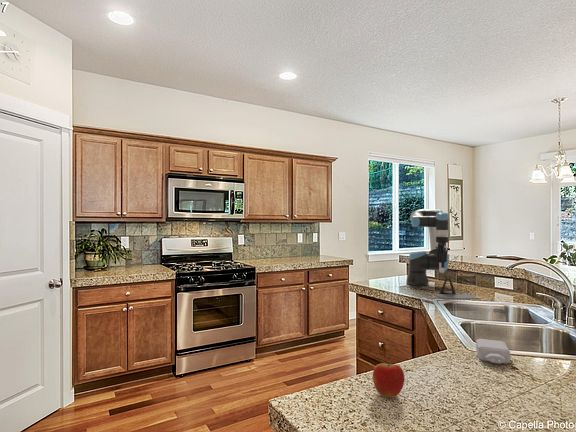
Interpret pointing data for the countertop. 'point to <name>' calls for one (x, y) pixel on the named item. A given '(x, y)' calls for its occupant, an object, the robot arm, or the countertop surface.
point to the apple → (388, 379)
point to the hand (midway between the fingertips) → (441, 272)
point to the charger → (492, 351)
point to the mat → (455, 296)
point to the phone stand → (450, 284)
